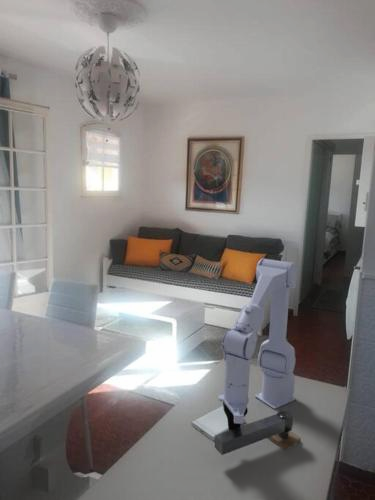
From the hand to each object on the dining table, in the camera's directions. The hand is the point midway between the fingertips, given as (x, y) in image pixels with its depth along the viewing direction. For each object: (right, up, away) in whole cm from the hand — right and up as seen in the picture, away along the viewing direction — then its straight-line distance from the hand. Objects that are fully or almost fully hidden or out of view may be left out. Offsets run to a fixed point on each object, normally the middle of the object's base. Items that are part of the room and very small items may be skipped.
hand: (233, 432), depth 92 cm
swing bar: (+5, -1, 0) cm, 6 cm away
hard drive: (-3, -3, +11) cm, 11 cm away
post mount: (+13, -4, +5) cm, 15 cm away
